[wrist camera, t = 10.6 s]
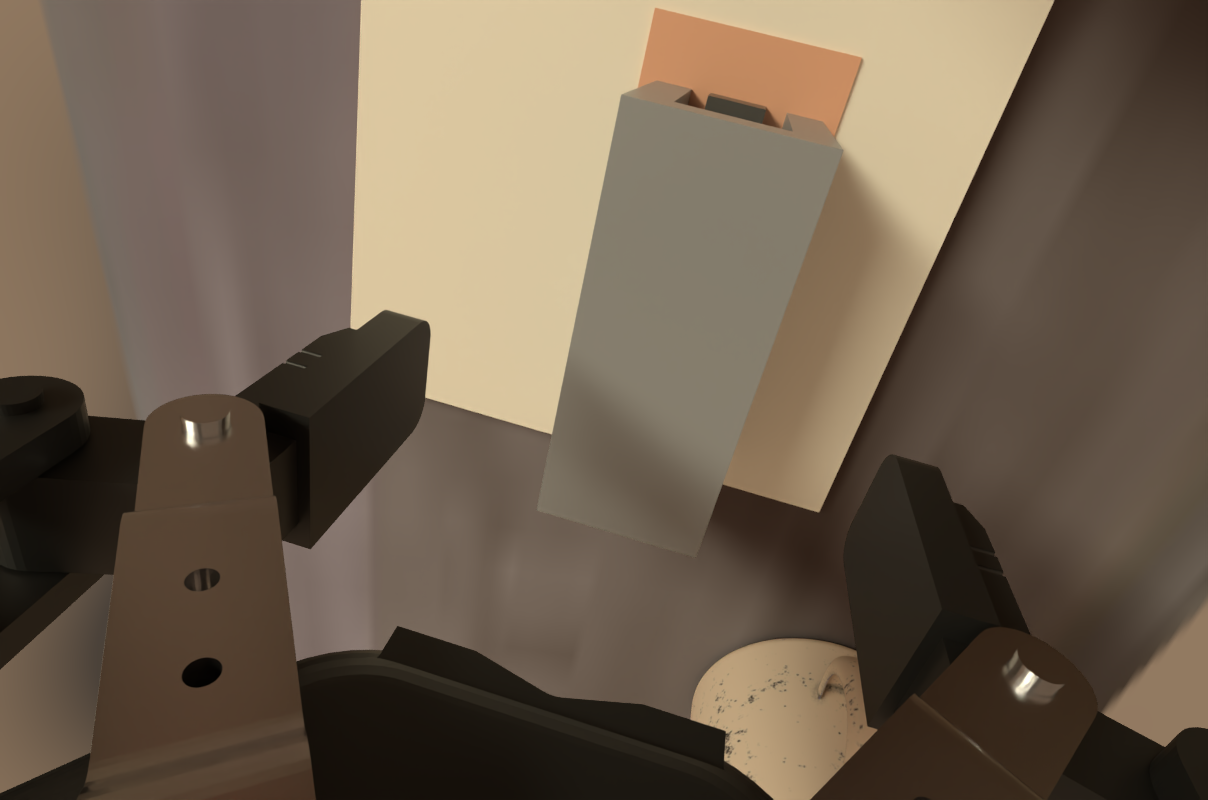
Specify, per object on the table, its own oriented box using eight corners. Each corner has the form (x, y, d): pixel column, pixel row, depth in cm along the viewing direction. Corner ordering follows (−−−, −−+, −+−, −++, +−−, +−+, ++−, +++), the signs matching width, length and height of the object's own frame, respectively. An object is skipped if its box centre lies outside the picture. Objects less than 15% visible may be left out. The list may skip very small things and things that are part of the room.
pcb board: (401, -479, 15) (375, -516, 14) (1187, -329, 13) (1220, -357, 12) (363, 375, 24) (346, 389, 24) (811, 506, 23) (813, 526, 22)
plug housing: (656, 80, 17) (621, 94, 13) (823, 121, 17) (843, 150, 13) (581, 417, 22) (536, 510, 18) (709, 454, 22) (695, 558, 18)
